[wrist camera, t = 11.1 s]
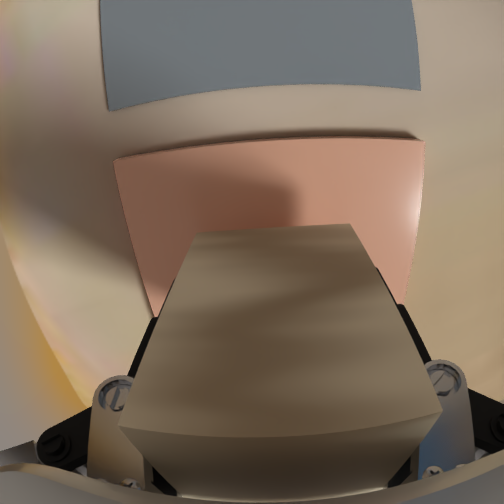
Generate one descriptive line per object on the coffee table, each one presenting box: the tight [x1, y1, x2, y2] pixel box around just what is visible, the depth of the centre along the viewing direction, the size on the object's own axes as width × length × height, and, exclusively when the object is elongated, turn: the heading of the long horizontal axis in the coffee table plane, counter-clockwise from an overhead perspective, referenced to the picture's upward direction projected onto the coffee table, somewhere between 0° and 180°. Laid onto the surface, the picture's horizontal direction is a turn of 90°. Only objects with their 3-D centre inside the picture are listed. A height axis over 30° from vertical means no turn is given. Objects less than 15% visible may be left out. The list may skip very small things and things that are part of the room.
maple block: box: [117, 223, 443, 502], centre depth 8 cm, size 5×5×7 cm
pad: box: [113, 136, 425, 317], centre depth 13 cm, size 12×10×1 cm
